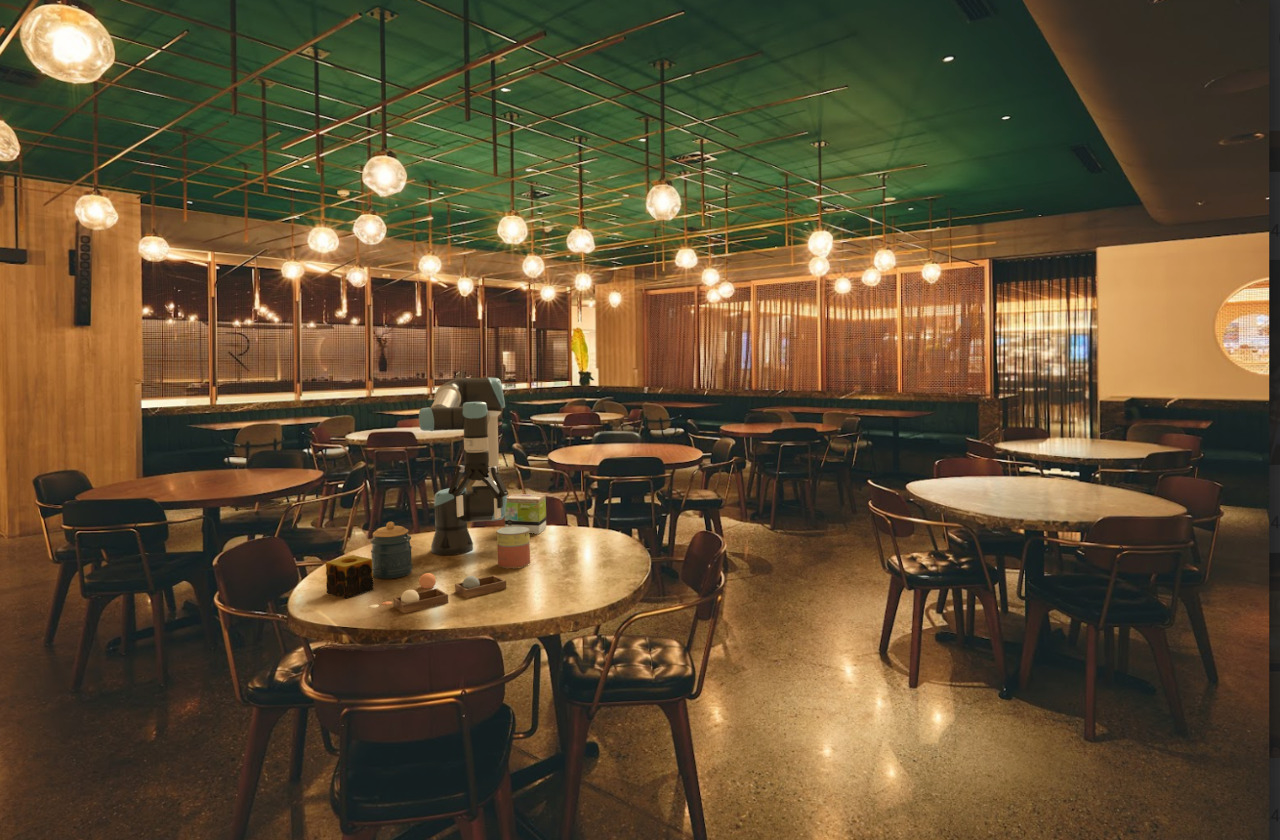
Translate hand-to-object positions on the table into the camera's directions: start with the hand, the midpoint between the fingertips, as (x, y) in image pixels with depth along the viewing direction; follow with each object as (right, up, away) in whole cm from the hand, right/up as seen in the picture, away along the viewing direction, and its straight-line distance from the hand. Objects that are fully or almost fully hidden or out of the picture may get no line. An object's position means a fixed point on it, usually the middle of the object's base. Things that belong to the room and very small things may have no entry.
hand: (478, 517), depth 227 cm
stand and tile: (-19, -23, -13) cm, 32 cm away
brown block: (-38, -23, -6) cm, 45 cm away
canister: (-32, -21, +12) cm, 40 cm away
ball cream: (-14, -23, -23) cm, 35 cm away
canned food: (+7, -19, +22) cm, 30 cm away
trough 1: (-12, -23, -21) cm, 33 cm away
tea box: (+4, -15, +69) cm, 71 cm away
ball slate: (0, -21, -11) cm, 24 cm away
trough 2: (+3, -22, -8) cm, 23 cm away
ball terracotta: (-15, -22, -5) cm, 27 cm away
